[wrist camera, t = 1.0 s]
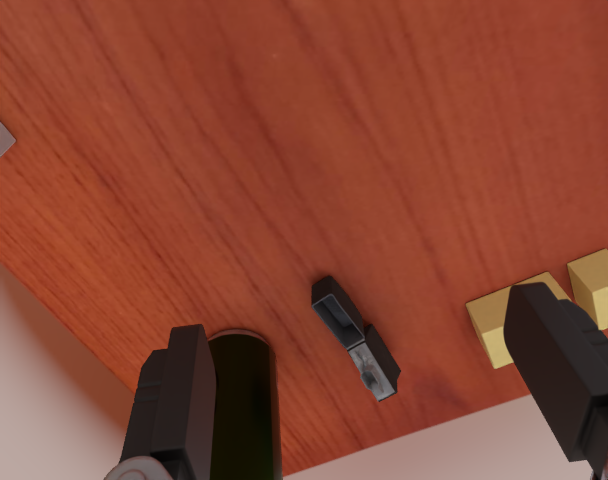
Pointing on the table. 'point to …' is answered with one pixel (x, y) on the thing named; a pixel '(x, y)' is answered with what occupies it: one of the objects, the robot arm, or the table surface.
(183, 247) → the table surface
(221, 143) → the table surface
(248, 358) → the guarana soda can
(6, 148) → the knife
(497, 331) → the butter
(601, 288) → the butter piece
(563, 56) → the table surface
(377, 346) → the lighter
